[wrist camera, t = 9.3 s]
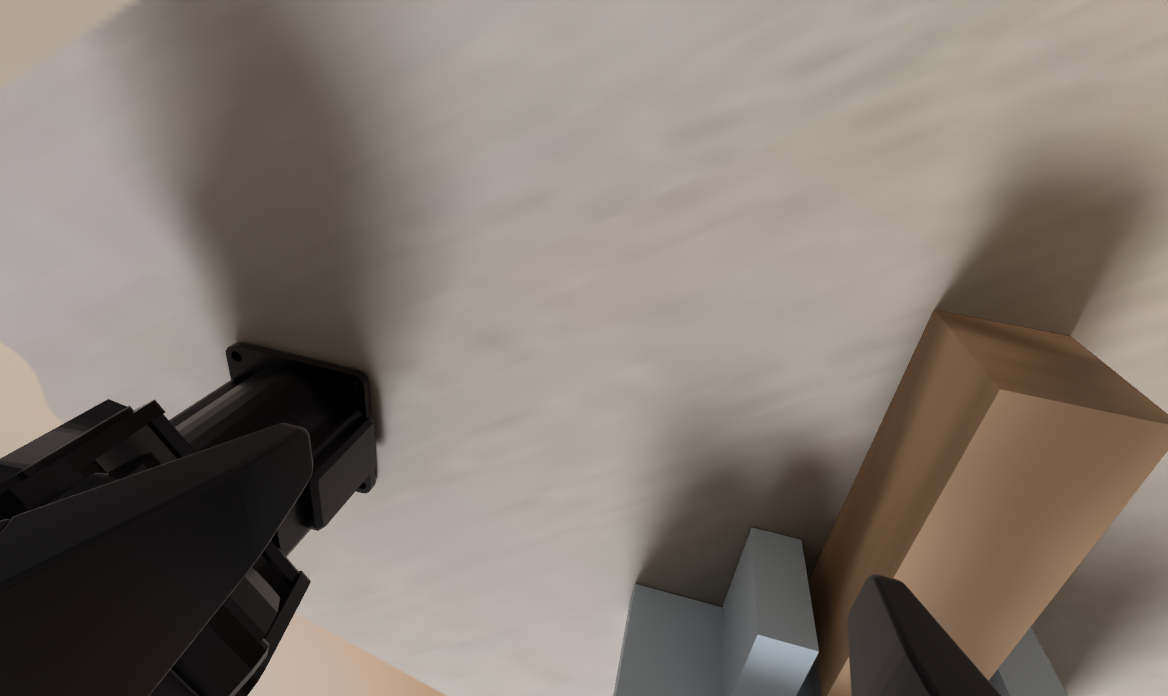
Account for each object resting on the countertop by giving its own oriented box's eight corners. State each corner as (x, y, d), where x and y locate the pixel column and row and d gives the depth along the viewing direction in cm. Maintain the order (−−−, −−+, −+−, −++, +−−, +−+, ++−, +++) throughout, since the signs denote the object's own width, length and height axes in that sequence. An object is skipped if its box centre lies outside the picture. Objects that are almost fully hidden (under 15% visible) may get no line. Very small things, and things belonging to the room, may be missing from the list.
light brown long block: (798, 602, 25) (813, 718, 20) (933, 309, 18) (1000, 388, 14) (894, 628, 24) (931, 753, 20) (1071, 336, 17) (1184, 428, 13)
